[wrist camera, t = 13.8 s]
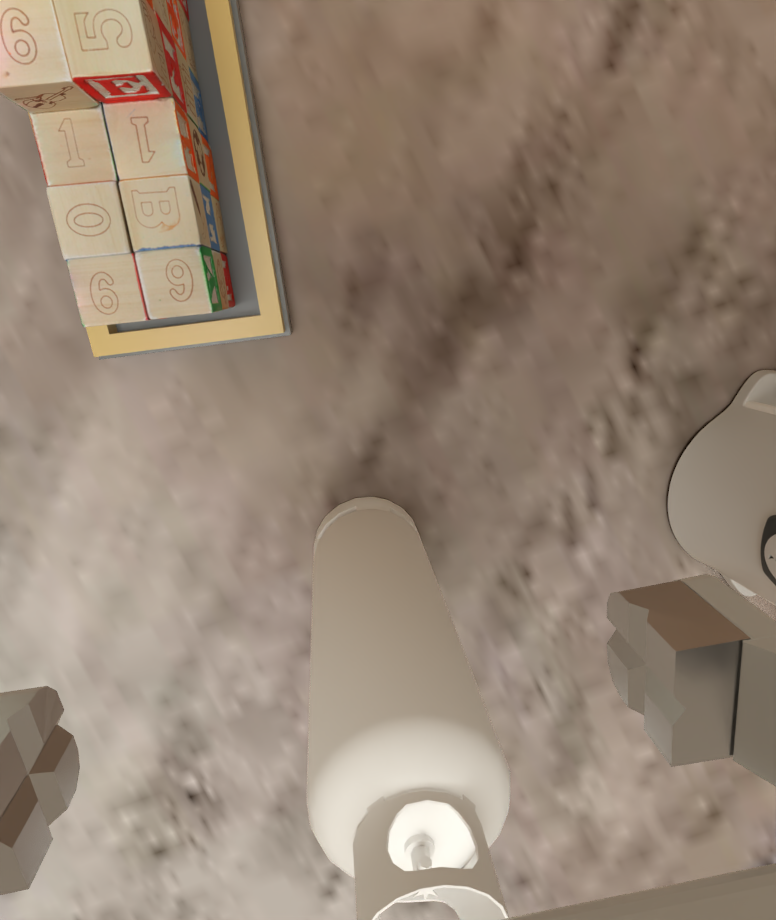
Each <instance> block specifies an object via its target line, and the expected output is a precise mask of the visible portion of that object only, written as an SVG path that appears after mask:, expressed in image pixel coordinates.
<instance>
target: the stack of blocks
mask: <svg viewBox="0 0 776 920" xmlns="http://www.w3.org/2000/svg"><path fill="white" fill-rule="evenodd" d="M0 94H1V95H3V96H4V97H6V98H7V99H9V100H10V101H12V102H14V103H15V104H17V105H18V106H20V107H21V108H23V109H25V110H26V111H28V112H29V115H30V120H31V124H32V127H33V131H34V135H35V139H36V143H37V147H38V151H39V155H40V159H41V163H42V167H43V171H44V175H45V179H46V183H47V189H46V190H47V195H48V199H49V204H50V208H51V212H52V216H53V220H54V224H55V228H56V232H57V236H58V240H59V243H60V247H61V251H62V255H63V258H64V259H65V260H66V261H67V264H68V269H69V274H70V278H71V282H72V286H73V290H74V294H75V298H76V302H77V306H78V310H79V314H80V318H81V322H82V325H83V327H93V326H102V325H111V324H121V323H130V322H140V321H148V320H154V319H165V318H170V317H180V316H189V315H198V314H208V313H214V312H218V311H222V310H223V309H228V308H232V307H234V306H235V300H234V294H233V289H232V283H231V277H230V272H229V266H228V260H227V257H226V254H227V253H228V252H227V245H226V239H225V233H224V227H223V221H222V215H221V209H220V204H219V196H218V189H217V183H216V177H215V171H214V164H213V158H212V152H211V147H210V145H209V143H208V136H207V129H206V123H205V117H204V111H203V105H202V98H201V92H200V87H199V84H198V76H197V70H196V64H195V58H194V51H193V45H192V39H191V33H190V27H189V13H188V5H187V0H0Z"/></svg>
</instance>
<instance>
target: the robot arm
mask: <svg viewBox="0 0 776 920" xmlns="http://www.w3.org/2000/svg"><path fill="white" fill-rule="evenodd" d="M668 515H669V521H670V525H671V528H672V531H673V533H674V535H675V537H676V539H677V541H678V542H679V544H680V545H681V546H682V548H683V549H684V550H685V551H686V552H687V553H688V554H689V555H690V556H692V557H693V558H694V559H696V560H697V561H699V562H701V563H703V564H705V565H707V566H709V567H711V568H713V569H715V570H717V571H718V572H720V573H721V575H722V576H723V578H724V579H725V581H726V582H727V583H728V584H729V586H730V587H731V588H732V589H731V588H730V587H729V586H727V585H726V584H725V583H723V582H722V581H721V580H719V579H718V578H717V577H715V576H711V575H707V574H704V575H699V576H694V577H689V578H685V579H680V580H675V581H672V582H667V583H662V584H656V585H651V586H646V587H640V588H635V589H630V590H624V591H619V592H614V593H610V595H609V599H608V602H607V618H608V620H609V621H610V622H611V623H612V624H613V626H614V627H615V628H616V631H615V632H614V634H613V635H612V637H611V638H610V640H609V641H608V643H607V655H608V665H609V669H610V673H611V677H612V680H613V683H614V685H615V687H616V689H617V691H618V693H619V695H620V696H621V698H622V699H623V701H624V702H625V704H626V705H627V707H629V708H631V709H633V710H635V711H637V712H639V713H641V714H643V715H644V730H645V732H646V733H647V734H648V736H649V737H650V738H651V740H652V741H653V742H654V744H655V745H656V747H657V748H658V749H659V751H660V752H661V753H662V755H663V756H664V758H665V759H666V760H667V762H668V763H669V764H670V766H671V767H673V766H680V765H686V764H692V763H698V762H705V761H711V760H717V759H724V758H730V757H733V761H735V762H737V763H738V764H740V765H742V766H743V767H745V768H746V769H748V770H750V771H751V772H753V773H755V774H756V775H758V776H760V777H761V778H763V779H764V780H766V781H768V782H769V783H771V784H773V785H774V786H776V621H775V620H773V619H772V618H771V617H769V616H768V615H767V614H765V613H764V612H762V611H761V610H760V609H758V608H757V607H756V606H754V605H753V604H752V603H750V602H749V601H748V600H746V599H745V598H744V597H742V596H741V595H740V594H742V595H744V596H748V597H750V596H755V595H758V596H760V597H762V598H764V599H765V600H767V601H769V602H771V603H772V604H774V605H776V371H775V370H761V371H757V372H756V373H754V374H753V375H751V376H750V377H749V378H748V380H747V381H746V382H745V384H744V385H743V386H742V388H741V389H740V391H739V392H738V394H737V395H736V397H735V399H734V400H733V402H732V404H731V405H730V406H729V407H728V408H727V409H726V410H725V411H724V412H722V413H721V414H720V415H719V416H717V417H716V418H715V419H714V420H712V421H711V422H710V423H709V424H708V425H706V426H705V427H704V428H703V429H702V430H701V431H700V432H699V433H698V434H697V435H696V436H695V438H694V439H693V440H692V441H691V443H690V444H689V445H688V447H687V448H686V450H685V451H684V453H683V454H682V456H681V458H680V460H679V462H678V464H677V466H676V468H675V470H674V473H673V476H672V479H671V483H670V488H669V494H668ZM733 589H734V590H735V591H734V590H733ZM736 591H737V592H738V593H740V594H738V593H737V592H736ZM63 711H64V708H63V706H62V703H61V701H60V698H59V696H58V693H57V691H56V690H54V689H52V688H50V687H48V686H44V687H37V688H30V689H24V690H17V691H10V692H3V693H0V895H3V894H8V893H12V892H17V891H21V890H26V889H29V888H30V885H31V883H32V881H33V879H34V877H35V875H36V873H37V871H38V869H39V867H40V865H41V863H42V861H43V859H44V857H45V855H46V852H47V850H48V848H49V846H50V844H51V842H52V840H53V838H52V835H51V832H50V830H49V827H48V826H49V825H50V824H51V823H52V822H53V821H54V820H56V819H57V818H58V817H59V816H60V815H61V814H62V813H63V812H64V811H66V810H67V809H68V807H69V804H70V802H71V800H72V798H73V795H74V793H75V791H76V787H77V781H78V775H79V769H80V765H79V755H78V748H77V745H76V742H75V739H74V736H73V735H72V734H70V733H69V732H67V731H66V730H65V729H63V728H62V727H60V726H59V725H57V724H58V722H59V720H60V718H61V716H62V714H63ZM501 920H776V863H775V864H770V865H766V866H761V867H756V868H751V869H746V870H741V871H736V872H732V873H727V874H722V875H717V876H712V877H707V878H702V879H697V880H692V881H688V882H683V883H678V884H673V885H668V886H663V887H658V888H653V889H648V890H643V891H639V892H634V893H629V894H624V895H619V896H614V897H609V898H604V899H599V900H594V901H590V902H585V903H580V904H575V905H570V906H565V907H560V908H555V909H550V910H545V911H541V912H536V913H531V914H526V915H521V916H516V917H511V918H506V919H501Z"/></svg>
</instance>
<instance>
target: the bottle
mask: <svg viewBox="0 0 776 920" xmlns="http://www.w3.org/2000/svg"><path fill="white" fill-rule="evenodd" d="M509 804H510V769H509V767H508V764H507V761H506V759H505V756H504V754H503V751H502V748H501V746H500V743H499V741H498V738H497V735H496V733H495V730H494V728H493V725H492V722H491V720H490V717H489V715H488V712H487V710H486V707H485V704H484V702H483V699H482V697H481V694H480V691H479V689H478V686H477V684H476V681H475V678H474V676H473V673H472V671H471V668H470V665H469V663H468V660H467V658H466V655H465V652H464V650H463V647H462V645H461V642H460V639H459V637H458V634H457V632H456V629H455V626H454V624H453V621H452V619H451V616H450V613H449V611H448V608H447V606H446V603H445V600H444V598H443V595H442V593H441V590H440V587H439V585H438V582H437V580H436V577H435V574H434V572H433V569H432V567H431V564H430V561H429V559H428V556H427V554H426V551H425V549H424V546H423V544H422V541H421V538H420V536H419V533H418V531H417V528H416V526H415V524H414V521H413V519H412V518H411V517H410V516H409V515H408V514H407V512H406V511H405V510H404V509H403V508H402V507H400V506H398V505H396V504H395V503H393V502H391V501H389V500H386V499H381V498H376V497H363V498H354V499H352V500H349V501H347V502H345V503H342V504H340V505H338V506H337V507H336V508H334V509H333V510H332V511H331V512H330V513H329V514H327V515H326V516H325V518H324V520H323V521H322V523H321V524H320V526H319V528H318V529H317V533H316V537H315V542H314V560H313V592H312V627H311V662H310V697H309V732H308V767H307V808H308V815H309V822H310V827H311V829H312V831H313V833H314V835H315V837H316V839H317V840H318V842H319V844H320V845H321V847H322V849H323V850H324V852H325V854H326V855H327V857H328V858H329V860H330V861H331V862H332V863H333V864H335V865H336V866H337V867H339V868H340V869H341V870H343V871H344V872H345V873H346V874H348V875H349V876H351V877H353V878H355V893H356V911H357V920H380V913H381V912H383V911H384V910H386V909H387V908H388V907H390V906H391V905H392V904H394V903H395V902H422V901H439V902H445V903H446V904H447V905H449V906H450V907H451V908H453V909H454V910H455V911H456V913H457V915H458V917H459V919H460V920H501V919H506V918H509V916H508V912H507V909H506V906H505V902H504V899H503V895H502V892H501V889H500V885H499V882H498V878H497V875H496V872H495V868H494V865H493V861H492V858H491V855H490V851H489V847H490V846H491V845H492V843H493V842H494V841H495V840H496V838H497V837H498V836H499V835H500V833H501V830H502V827H503V825H504V822H505V819H506V817H507V814H508V811H509Z"/></svg>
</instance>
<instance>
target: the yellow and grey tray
mask: <svg viewBox="0 0 776 920" xmlns="http://www.w3.org/2000/svg"><path fill="white" fill-rule="evenodd" d="M187 5H188V13H189V27H190V33H191V39H192V45H193V51H194V58H195V64H196V70H197V76H198V84H199V87H200V92H201V98H202V105H203V111H204V117H205V123H206V129H207V136H208V143H209V145H210V147H211V152H212V158H213V164H214V171H215V177H216V183H217V189H218V196H219V204H220V209H221V215H222V221H223V227H224V233H225V239H226V245H227V252H228V253H227V254H226V257H227V260H228V266H229V272H230V277H231V283H232V289H233V294H234V300H235V306H234V307H232V308H228V309H223V310H222V311H218V312H214V313H208V314H198V315H189V316H180V317H170V318H165V319H154V320H148V321H140V322H130V323H121V324H111V325H102V326H93V327H86V329H87V333H88V337H89V340H90V344H91V348H92V351H93V355H94V357H99V360H100V359H108V358H116V357H123V356H131V355H139V354H147V353H155V352H162V351H170V350H178V349H186V348H194V347H202V346H209V345H217V344H225V343H233V342H241V341H248V340H256V339H264V338H272V337H280V336H288V335H291V334H292V328H291V322H290V316H289V310H288V303H287V297H286V291H285V285H284V279H283V273H282V267H281V261H280V254H279V248H278V242H277V236H276V230H275V224H274V218H273V212H272V205H271V199H270V193H269V187H268V181H267V175H266V169H265V163H264V156H263V150H262V144H261V138H260V132H259V126H258V120H257V114H256V107H255V101H254V95H253V89H252V83H251V77H250V71H249V65H248V59H247V52H246V46H245V40H244V34H243V28H242V22H241V16H240V10H239V3H238V0H187ZM28 114H29V112H28ZM29 117H30V115H29ZM30 121H31V120H30ZM31 125H32V124H31ZM32 129H33V127H32ZM33 132H34V131H33ZM34 136H35V135H34ZM35 140H36V139H35Z"/></svg>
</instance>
